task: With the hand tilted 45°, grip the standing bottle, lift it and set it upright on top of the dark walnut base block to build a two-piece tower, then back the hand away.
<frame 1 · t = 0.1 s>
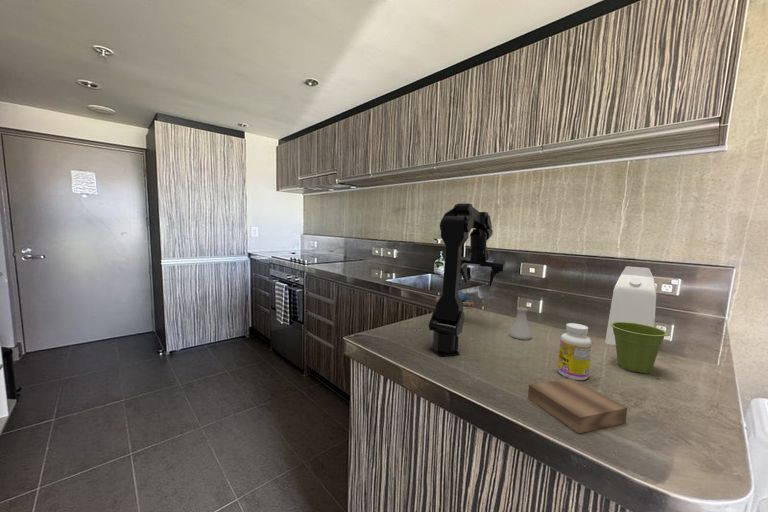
hand: (478, 284, 118), 15 cm above the worktop, tool pointing down, fingers open, 9 cm apart
walnut base block: (573, 409, 62), on the worktop
plant pot: (633, 368, 84), on the worktop
flask: (519, 337, 106), on the worktop
model: (461, 306, 149), on the worktop
supplement bottle: (572, 375, 78), on the worktop
milk: (629, 344, 103), on the worktop
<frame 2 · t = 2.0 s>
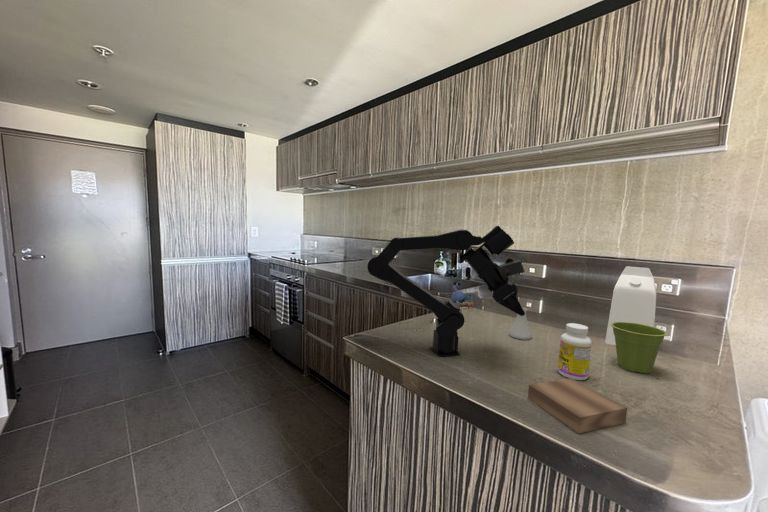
hand: (520, 310, 85), 14 cm above the worktop, tool tilted 40°, fingers open, 9 cm apart
nothing on the worktop moved.
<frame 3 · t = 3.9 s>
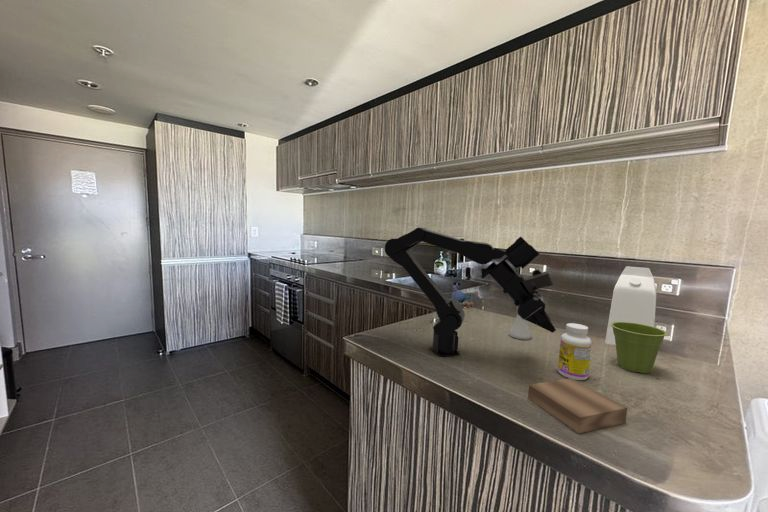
hand: (551, 326, 79), 12 cm above the worktop, tool tilted 45°, fingers open, 9 cm apart
nothing on the worktop moved.
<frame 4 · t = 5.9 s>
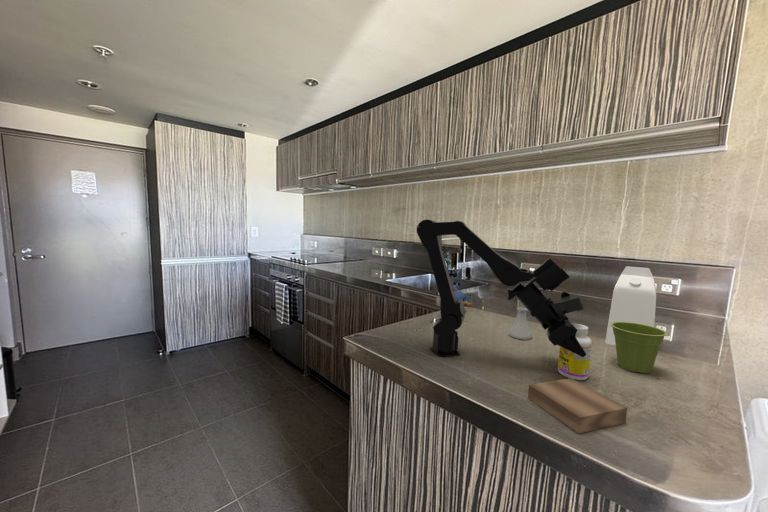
hand: (581, 350, 77), 7 cm above the worktop, tool tilted 45°, fingers closed on supplement bottle, 7 cm apart
supplement bottle: (572, 375, 78), on the worktop, touching gripper
everything else where it was.
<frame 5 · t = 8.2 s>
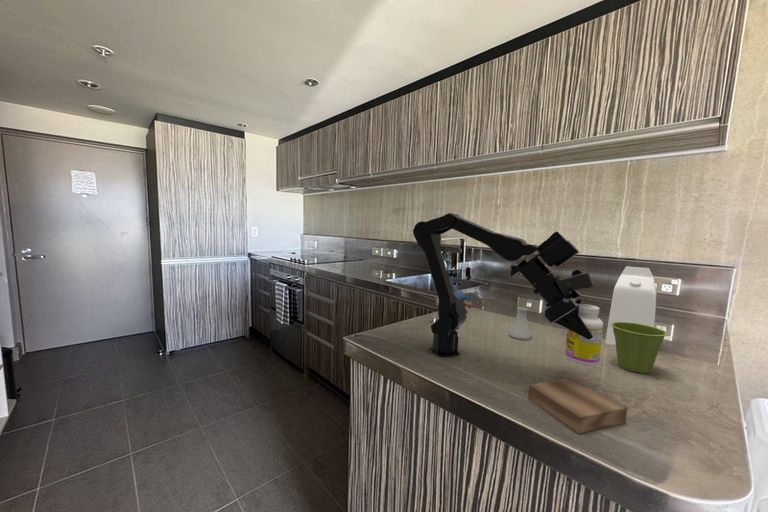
hand: (591, 334, 69), 13 cm above the worktop, tool tilted 45°, fingers closed on supplement bottle, 7 cm apart
supplement bottle: (581, 361, 70), point 7 cm above the worktop, touching gripper
when the fingers open (10 cm above the worktop, at t = 10.7 s): supplement bottle stays where it is, resting on walnut base block.
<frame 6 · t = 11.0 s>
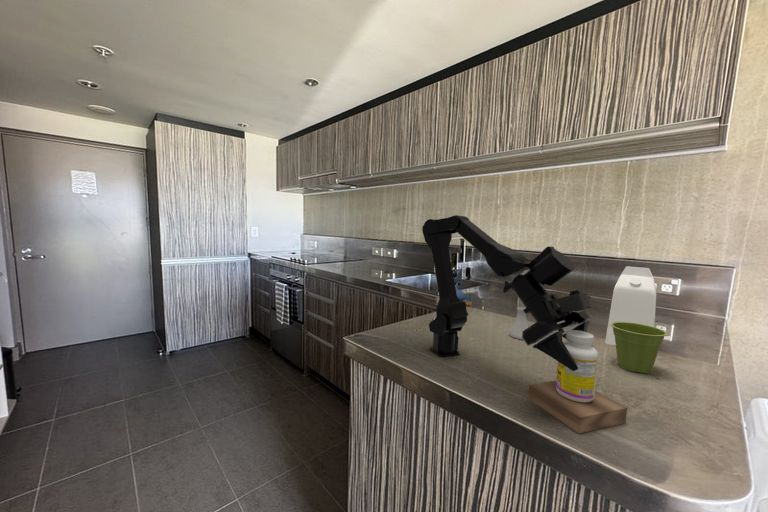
hand: (586, 364, 60), 10 cm above the worktop, tool tilted 45°, fingers open, 9 cm apart
supplement bottle: (574, 395, 62), point 3 cm above the worktop, touching walnut base block
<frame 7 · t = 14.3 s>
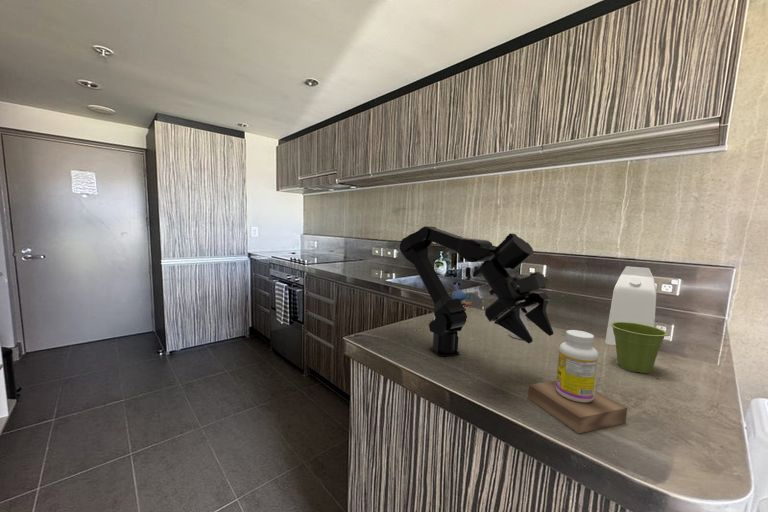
hand: (541, 338, 67), 13 cm above the worktop, tool tilted 45°, fingers open, 9 cm apart
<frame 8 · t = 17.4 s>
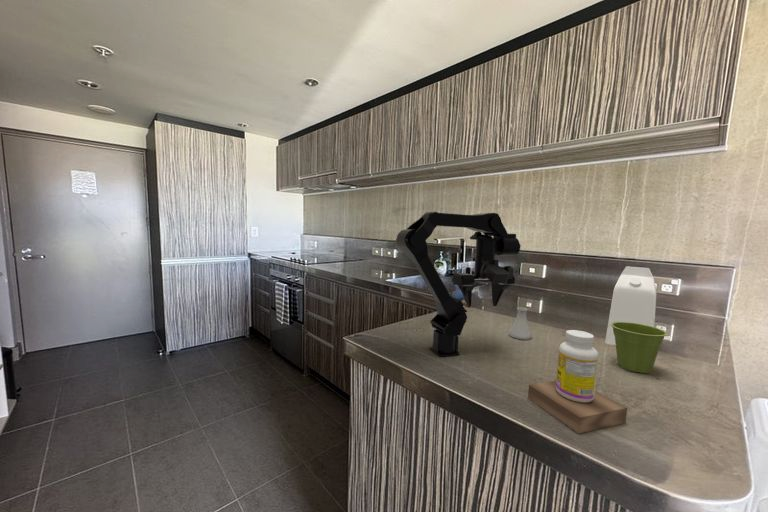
hand: (481, 306, 93), 13 cm above the worktop, tool pointing down, fingers open, 9 cm apart
at the end: supplement bottle 0.2 cm off-centre on the walnut base block, point 2.8 cm above the walnut base block's base; supplement bottle tilted 0°; the gripper is holding nothing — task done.
